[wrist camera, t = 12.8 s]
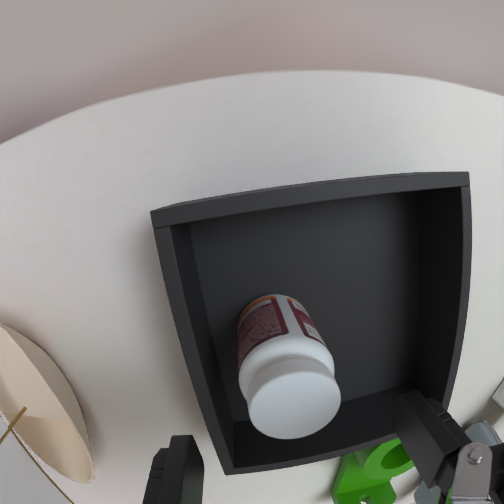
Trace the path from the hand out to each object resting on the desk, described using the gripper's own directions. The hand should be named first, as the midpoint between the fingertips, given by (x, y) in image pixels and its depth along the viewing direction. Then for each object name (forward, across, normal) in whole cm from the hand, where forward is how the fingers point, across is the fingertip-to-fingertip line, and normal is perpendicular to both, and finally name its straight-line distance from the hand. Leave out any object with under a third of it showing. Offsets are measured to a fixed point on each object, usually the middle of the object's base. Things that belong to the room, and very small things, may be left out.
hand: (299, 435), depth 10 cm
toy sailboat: (+11, +20, +4) cm, 23 cm away
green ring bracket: (+11, -8, +17) cm, 22 cm away
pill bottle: (+10, 0, 0) cm, 10 cm away
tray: (+11, -4, 0) cm, 11 cm away
